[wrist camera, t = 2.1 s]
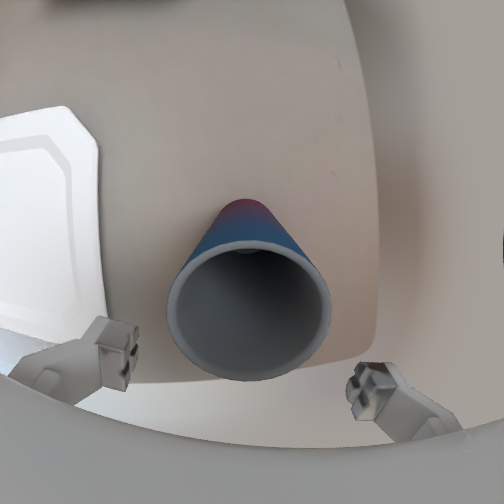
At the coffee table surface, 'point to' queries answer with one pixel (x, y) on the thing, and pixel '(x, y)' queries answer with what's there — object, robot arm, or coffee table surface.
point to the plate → (49, 226)
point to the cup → (248, 298)
